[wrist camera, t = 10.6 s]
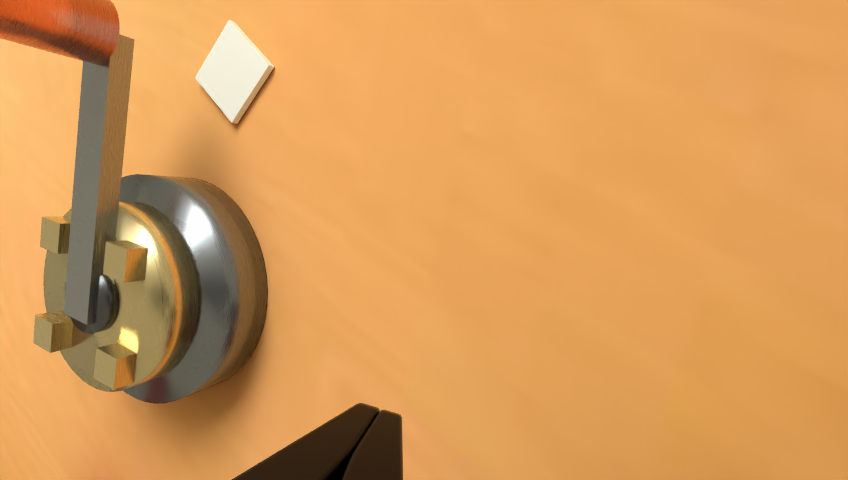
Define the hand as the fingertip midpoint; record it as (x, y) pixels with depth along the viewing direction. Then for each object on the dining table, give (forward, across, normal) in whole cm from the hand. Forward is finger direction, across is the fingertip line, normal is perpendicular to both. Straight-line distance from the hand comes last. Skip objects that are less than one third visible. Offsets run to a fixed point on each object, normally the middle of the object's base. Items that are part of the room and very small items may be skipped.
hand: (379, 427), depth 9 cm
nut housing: (+15, +17, +8) cm, 24 cm away
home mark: (+17, +16, -5) cm, 24 cm away
